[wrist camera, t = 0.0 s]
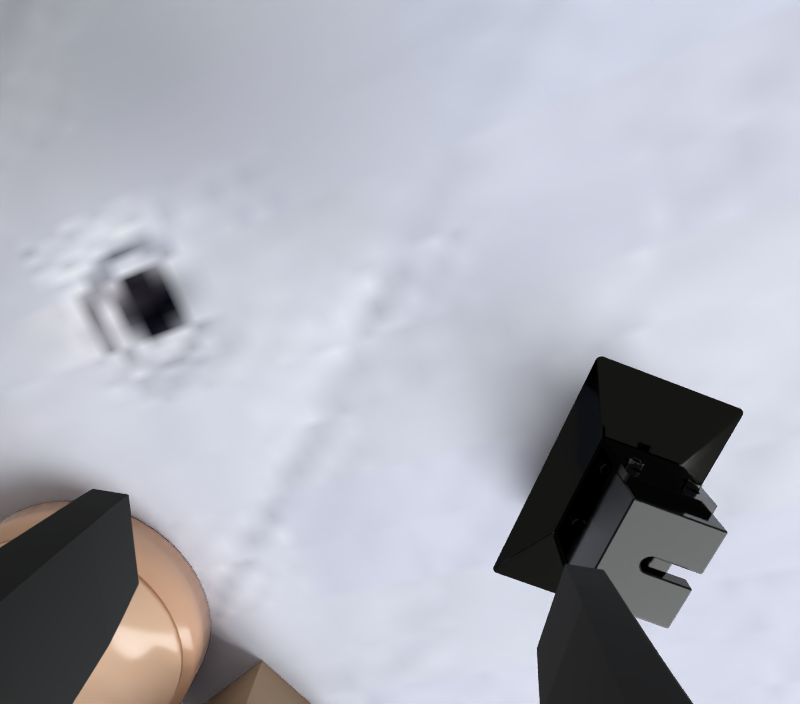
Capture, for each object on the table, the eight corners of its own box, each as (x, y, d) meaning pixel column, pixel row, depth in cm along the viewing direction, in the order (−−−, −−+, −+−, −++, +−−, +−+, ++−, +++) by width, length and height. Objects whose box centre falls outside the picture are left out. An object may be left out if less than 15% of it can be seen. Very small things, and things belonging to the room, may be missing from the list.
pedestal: (107, 742, 25) (80, 788, 23) (-74, 594, 24) (-119, 630, 22) (261, 626, 23) (244, 666, 21) (71, 452, 21) (34, 479, 19)
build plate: (620, 646, 23) (662, 755, 18) (449, 584, 23) (450, 681, 18) (787, 368, 19) (888, 423, 15) (585, 292, 19) (628, 325, 15)
